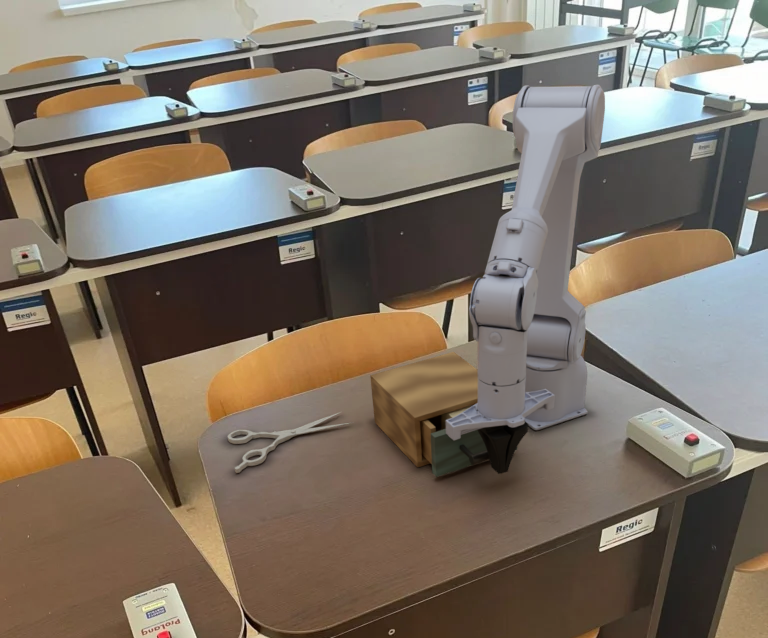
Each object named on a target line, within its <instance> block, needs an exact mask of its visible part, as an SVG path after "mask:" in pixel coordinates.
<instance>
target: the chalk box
mask: <svg viewBox="0 0 768 638" xmlns="http://www.w3.org/2000/svg"><path fill="white" fill-rule="evenodd" d="M470 407H471V406H467V407H464V408H461V409H458V410H454V411H451V412H448V413H445V414H441V424H442V430H443V429H446V420H448V419H450V418H453V417H455V416H457V415H459V414H460V413H462V412H463V411H465V410H467V409H468V408H470Z"/></svg>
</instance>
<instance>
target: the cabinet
mask: <svg viewBox="0 0 768 638" xmlns="http://www.w3.org/2000/svg"><path fill="white" fill-rule="evenodd" d="M369 376H370V389H371V397H372V407H373V417H374V423H375V424H376V425H377V427H379V428H380V430H381V431H382V432H383V433H384V434H385V435H387V438H388V439H390V440H391V441H392V442H393V443H394V445H396V446H397V447H398V449H399V450H400V451H401V452H402V453H403V454H404V455H405V456H406V457H407V458H408V459H409V460H410V461H411V463H413V465H414V466H415V467H416V468H421V467H424V466H426V465H430V464H431V463H430V462H429V461H428V460H427V459H426V458H425V457H424V456H423V455H422V450H421V432H420V421H422V420H425V419H428V418H432V417H435V416H438V415H441V414H445V413H448V412H451V411H454V410H458V409H461V408H464V407H467V406H471V405H474V404H476V403H478V368H476V367H474V366H473V365H472V364H471V363H469V362H468V361H467V360H466V359H464V358H463V357H462V356H460V355H459V354H458V353H457V352H455V351H450V352H447V353H444V354H441V355H440V354H439V355H437V356H433V357H429V358H425V359H422V360H419V361H416V362H412V363H409V364H405V365H402V366H397V367H394V368H390V369H387V370H384V371H380V372H376V373H373V374H370V375H369Z"/></svg>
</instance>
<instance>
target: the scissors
mask: <svg viewBox="0 0 768 638" xmlns="http://www.w3.org/2000/svg"><path fill="white" fill-rule="evenodd" d="M340 413H341V411H340V412H336V413H334V414H331V415H328V416H325V417H323V418H320V419H317V420H314V421H311V422H309V423H306V424H304V425H301V426H299V427H297V428H292V429H285V430H278V431H273V432H267V431H259V432H254V431H251V430H249V429H237V430H233V431H231V432H229V434H227V440H228V442H229V443H230V444H234V445H238V444H239V445H241V444H246V443H248V442H250V441H251V440H253V439H260V438H268V439H269V438H270V439H274V441H273V442H272V443H270V444H269V445H268V446H265V447H263V448H260V449H259V448H258V449H250V450H248V451H247V452H245V454H244V455H243V456H242V462H241V463H240V464H239V465H236V466H234V471H235V473H236V474H239V473H241V472H242V470H244V469H245V468H247V467H253V466H254V467H255V466H257V465H260V464H262V463H263V462H264V461H265V460H266V459H267V455H268V454H269V452H271V451H275V449H276V447H277V446H278V445H279V444H281V443H284V442H286V441H289V440H290V439H292V438H293V437H296V436H300V435H303V434H304V435H305V434H310V433H315V432H319V431H323V430H324V431H325V430H329V429H333V428H337V427H342V426H346V425H350V424H353V423H354V421H353V422H346V423H345V422H344V423H337V424H331V425H324V426H317V427H315V426H316V425H319V424H321V423H323V422H324V421H326V420H328V419H330V418H333V417H334V416H336V415H338V414H340ZM240 435H245V436H242V437H237V438H235V437H236V436H240ZM254 456H260V457H257V458H255V459H251V460H250V459H249V458H252V457H254Z"/></svg>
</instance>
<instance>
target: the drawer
mask: <svg viewBox="0 0 768 638" xmlns="http://www.w3.org/2000/svg"><path fill="white" fill-rule="evenodd" d="M474 405H475V404H474ZM471 406H473V405H471ZM420 432H421V450H422V455H423V456H424V457H425V458H426V459H427V460H428V461H429V462H430V464H431V473H432V474H433V475H434V477H436V478H437V477H440V476H443V475H446V474H450V473H452V472H455V471H459V470H461V469H465V468H467V467H470V466H475V465H479V464H481V463H484V462H487V461H490V458H489V455H488V452H487V449H486V446H485V444H484V442H483V440H482V438H481V436H480V434H479V432H478V430H475V431H472V432H469V433H465V434H462V435H461V438H460V439H457V440H453V439H451V438H450V437H449V436H448V435H447V434H446V429H443V430H442V424H441V415H438V416H435V417H432V418H428V419H425V420H422V421H420ZM518 446H519V445H518ZM518 446H517V448H516V450H515V451H518Z"/></svg>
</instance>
